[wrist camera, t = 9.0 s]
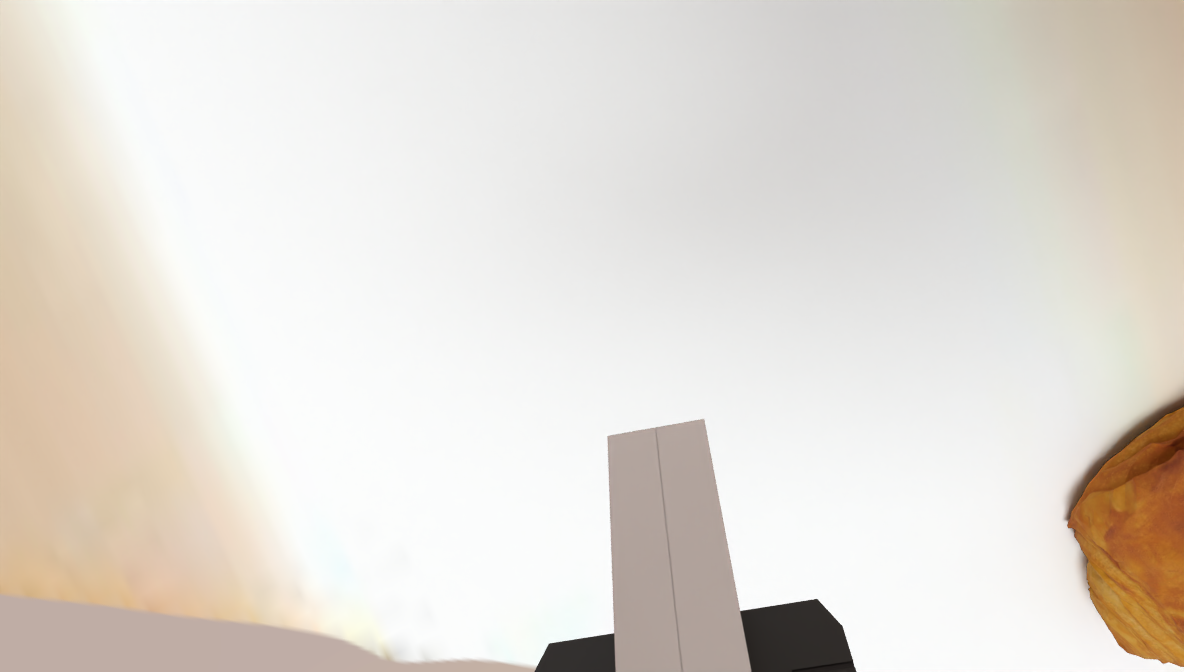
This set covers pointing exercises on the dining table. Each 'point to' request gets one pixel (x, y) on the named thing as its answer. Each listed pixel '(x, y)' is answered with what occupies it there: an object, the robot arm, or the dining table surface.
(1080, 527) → the croissant
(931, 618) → the dining table surface
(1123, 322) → the dining table surface
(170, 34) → the dining table surface
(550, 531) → the dining table surface
